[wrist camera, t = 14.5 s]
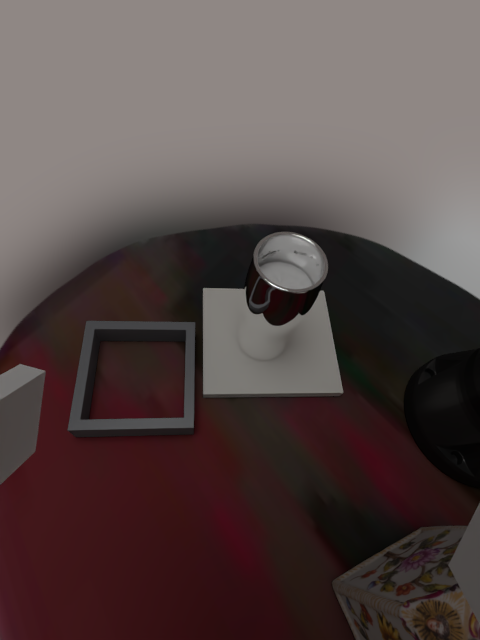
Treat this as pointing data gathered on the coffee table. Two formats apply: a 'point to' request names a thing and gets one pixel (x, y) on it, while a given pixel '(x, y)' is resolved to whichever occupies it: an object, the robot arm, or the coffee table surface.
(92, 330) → the holder
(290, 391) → the board
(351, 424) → the coffee table surface
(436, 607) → the decorative jar
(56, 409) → the coffee table surface
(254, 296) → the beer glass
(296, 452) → the coffee table surface
